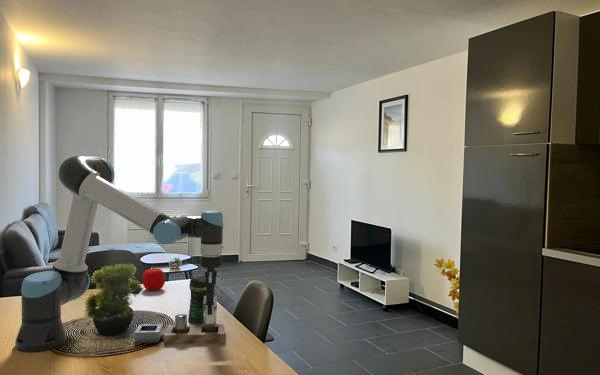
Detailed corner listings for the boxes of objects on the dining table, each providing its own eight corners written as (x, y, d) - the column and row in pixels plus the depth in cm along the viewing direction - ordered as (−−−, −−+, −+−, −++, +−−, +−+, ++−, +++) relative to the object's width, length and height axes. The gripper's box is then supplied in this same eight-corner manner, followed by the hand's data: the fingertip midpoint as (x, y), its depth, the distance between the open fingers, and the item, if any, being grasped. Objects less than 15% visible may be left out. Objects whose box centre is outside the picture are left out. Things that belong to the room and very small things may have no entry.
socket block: (134, 345, 160) (134, 332, 160) (138, 337, 168) (139, 324, 168) (158, 344, 162) (158, 332, 161) (162, 336, 169) (162, 324, 169)
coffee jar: (197, 328, 179) (198, 279, 178) (185, 323, 184) (185, 276, 183) (217, 322, 186) (218, 275, 185) (205, 317, 191) (206, 272, 191)
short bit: (174, 340, 163) (174, 317, 163) (175, 336, 167) (175, 314, 167) (186, 340, 164) (186, 317, 163) (187, 336, 168) (187, 313, 167)
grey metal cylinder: (202, 336, 164) (203, 299, 164) (203, 331, 169) (204, 295, 168) (216, 335, 165) (217, 299, 164) (216, 331, 170) (217, 295, 169)
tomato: (164, 292, 227) (165, 270, 227) (141, 293, 224) (142, 270, 224) (164, 286, 237) (165, 265, 237) (142, 287, 234) (142, 266, 234)
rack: (163, 347, 160) (164, 335, 160) (167, 336, 170) (168, 325, 170) (223, 345, 163) (224, 334, 163) (224, 335, 173) (224, 324, 172)
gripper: (221, 260, 157) (220, 329, 158) (222, 250, 175) (221, 312, 176) (198, 260, 156) (197, 329, 157) (202, 250, 174) (200, 312, 175)
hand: (209, 320), depth 167 cm, fingers closed on grey metal cylinder, 5 cm apart
